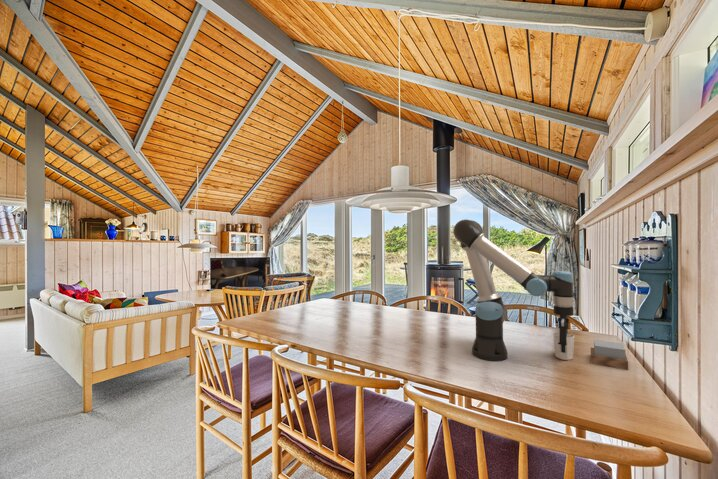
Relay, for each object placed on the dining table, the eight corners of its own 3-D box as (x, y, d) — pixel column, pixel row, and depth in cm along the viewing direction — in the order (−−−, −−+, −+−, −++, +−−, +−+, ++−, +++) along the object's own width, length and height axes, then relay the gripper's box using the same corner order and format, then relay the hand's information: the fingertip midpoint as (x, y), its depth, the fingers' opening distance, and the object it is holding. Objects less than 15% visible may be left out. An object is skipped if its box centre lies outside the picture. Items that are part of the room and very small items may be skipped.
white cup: (572, 355, 143) (572, 333, 143) (576, 361, 136) (575, 338, 136) (552, 353, 146) (552, 331, 146) (555, 358, 139) (554, 336, 139)
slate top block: (595, 355, 134) (594, 345, 134) (593, 348, 142) (593, 339, 142) (625, 359, 128) (625, 349, 128) (622, 352, 136) (622, 343, 136)
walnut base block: (591, 364, 134) (591, 355, 134) (590, 356, 143) (590, 347, 143) (628, 371, 127) (627, 361, 127) (625, 361, 136) (624, 352, 136)
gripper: (572, 310, 131) (573, 365, 131) (573, 302, 147) (574, 351, 147) (551, 308, 135) (552, 361, 135) (555, 301, 152) (556, 348, 152)
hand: (564, 356), depth 141 cm, fingers closed on white cup, 8 cm apart
